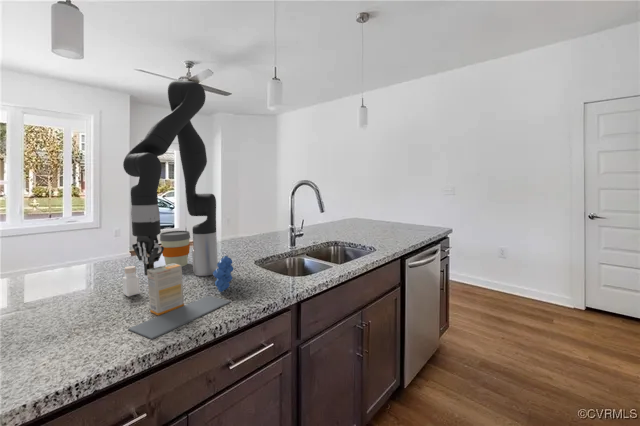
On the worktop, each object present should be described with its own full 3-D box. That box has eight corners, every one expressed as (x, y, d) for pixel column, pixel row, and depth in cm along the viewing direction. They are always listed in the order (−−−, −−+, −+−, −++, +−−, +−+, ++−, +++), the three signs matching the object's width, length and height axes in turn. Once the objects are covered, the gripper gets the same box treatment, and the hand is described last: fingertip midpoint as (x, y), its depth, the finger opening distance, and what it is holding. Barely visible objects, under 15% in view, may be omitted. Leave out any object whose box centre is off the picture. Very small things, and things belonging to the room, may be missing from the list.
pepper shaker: (136, 291, 107) (134, 264, 106) (140, 293, 105) (138, 266, 103) (123, 294, 104) (121, 267, 103) (127, 297, 101) (125, 269, 100)
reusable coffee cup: (184, 268, 134) (182, 235, 132) (155, 268, 134) (153, 235, 133) (196, 261, 146) (194, 230, 145) (170, 261, 147) (168, 230, 145)
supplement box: (175, 303, 97) (173, 262, 95) (184, 306, 94) (182, 265, 93) (149, 312, 90) (146, 269, 88) (157, 316, 87) (154, 271, 86)
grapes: (220, 283, 114) (219, 252, 113) (237, 284, 114) (236, 252, 112) (205, 295, 103) (204, 260, 102) (224, 296, 102) (223, 261, 101)
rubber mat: (128, 330, 79) (128, 328, 79) (208, 296, 102) (208, 295, 102) (152, 339, 74) (151, 338, 74) (230, 302, 97) (230, 301, 97)
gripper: (120, 219, 93) (124, 275, 95) (146, 222, 86) (150, 281, 88) (145, 217, 99) (148, 268, 101) (171, 219, 93) (174, 274, 95)
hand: (149, 274), depth 95 cm, fingers closed
